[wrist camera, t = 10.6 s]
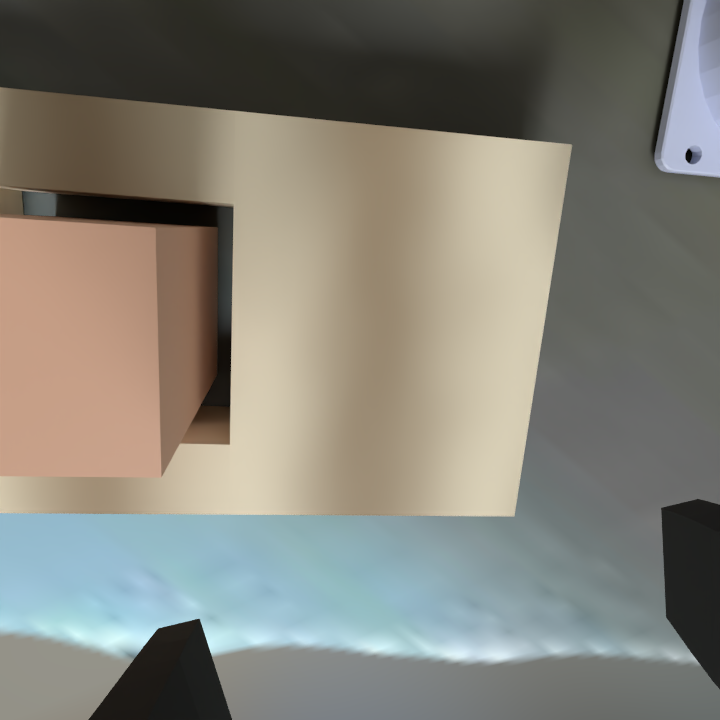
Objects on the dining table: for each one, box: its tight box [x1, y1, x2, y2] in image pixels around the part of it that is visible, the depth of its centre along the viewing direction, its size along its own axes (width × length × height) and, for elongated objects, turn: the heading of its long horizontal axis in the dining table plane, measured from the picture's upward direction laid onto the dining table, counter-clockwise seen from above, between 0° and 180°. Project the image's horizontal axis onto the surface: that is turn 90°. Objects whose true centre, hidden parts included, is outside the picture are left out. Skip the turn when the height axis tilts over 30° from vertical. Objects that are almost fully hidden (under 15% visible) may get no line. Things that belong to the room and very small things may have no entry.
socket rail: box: [0, 87, 572, 516], centre depth 14 cm, size 22×10×3 cm, turn 86°
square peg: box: [0, 214, 218, 478], centre depth 12 cm, size 4×4×7 cm
